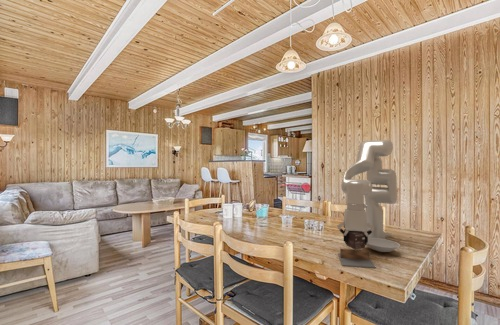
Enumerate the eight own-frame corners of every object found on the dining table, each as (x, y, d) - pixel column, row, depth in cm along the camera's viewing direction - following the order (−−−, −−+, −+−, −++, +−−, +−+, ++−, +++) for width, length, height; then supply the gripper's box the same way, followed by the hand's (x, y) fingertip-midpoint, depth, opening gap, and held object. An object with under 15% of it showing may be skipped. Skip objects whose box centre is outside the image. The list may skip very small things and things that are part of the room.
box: (354, 249, 117) (354, 233, 116) (346, 245, 122) (345, 230, 122) (365, 248, 118) (365, 232, 118) (356, 244, 124) (356, 229, 124)
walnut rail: (368, 258, 121) (368, 250, 121) (369, 259, 120) (369, 251, 120) (340, 256, 124) (340, 248, 124) (340, 257, 123) (340, 249, 123)
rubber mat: (367, 256, 125) (367, 255, 125) (375, 268, 112) (375, 267, 112) (338, 254, 128) (338, 253, 128) (342, 266, 115) (342, 264, 115)
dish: (401, 250, 133) (401, 241, 133) (399, 260, 121) (399, 249, 121) (365, 244, 143) (365, 236, 142) (360, 252, 131) (360, 243, 131)
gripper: (372, 206, 122) (372, 242, 122) (335, 205, 125) (335, 240, 126) (377, 209, 115) (377, 247, 115) (337, 208, 118) (337, 245, 118)
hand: (355, 243), depth 120 cm, fingers closed on box, 8 cm apart
